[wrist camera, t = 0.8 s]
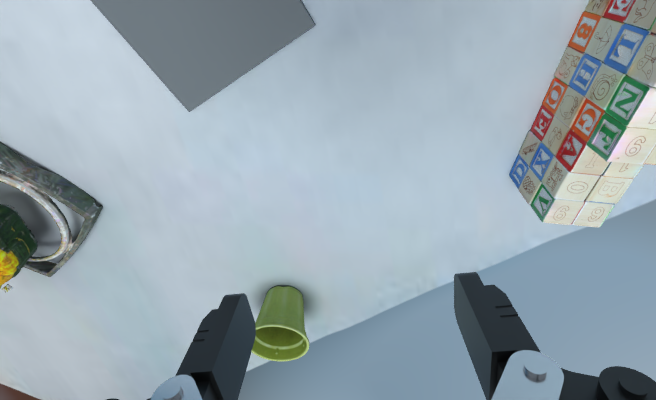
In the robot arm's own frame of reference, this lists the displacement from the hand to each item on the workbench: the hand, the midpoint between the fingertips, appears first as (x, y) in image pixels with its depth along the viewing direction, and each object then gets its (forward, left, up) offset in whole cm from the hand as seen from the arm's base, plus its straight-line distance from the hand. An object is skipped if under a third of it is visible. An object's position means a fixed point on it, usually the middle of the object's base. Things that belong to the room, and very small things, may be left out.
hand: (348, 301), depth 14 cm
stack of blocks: (+15, +19, -30) cm, 39 cm away
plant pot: (+27, -28, -30) cm, 49 cm away
